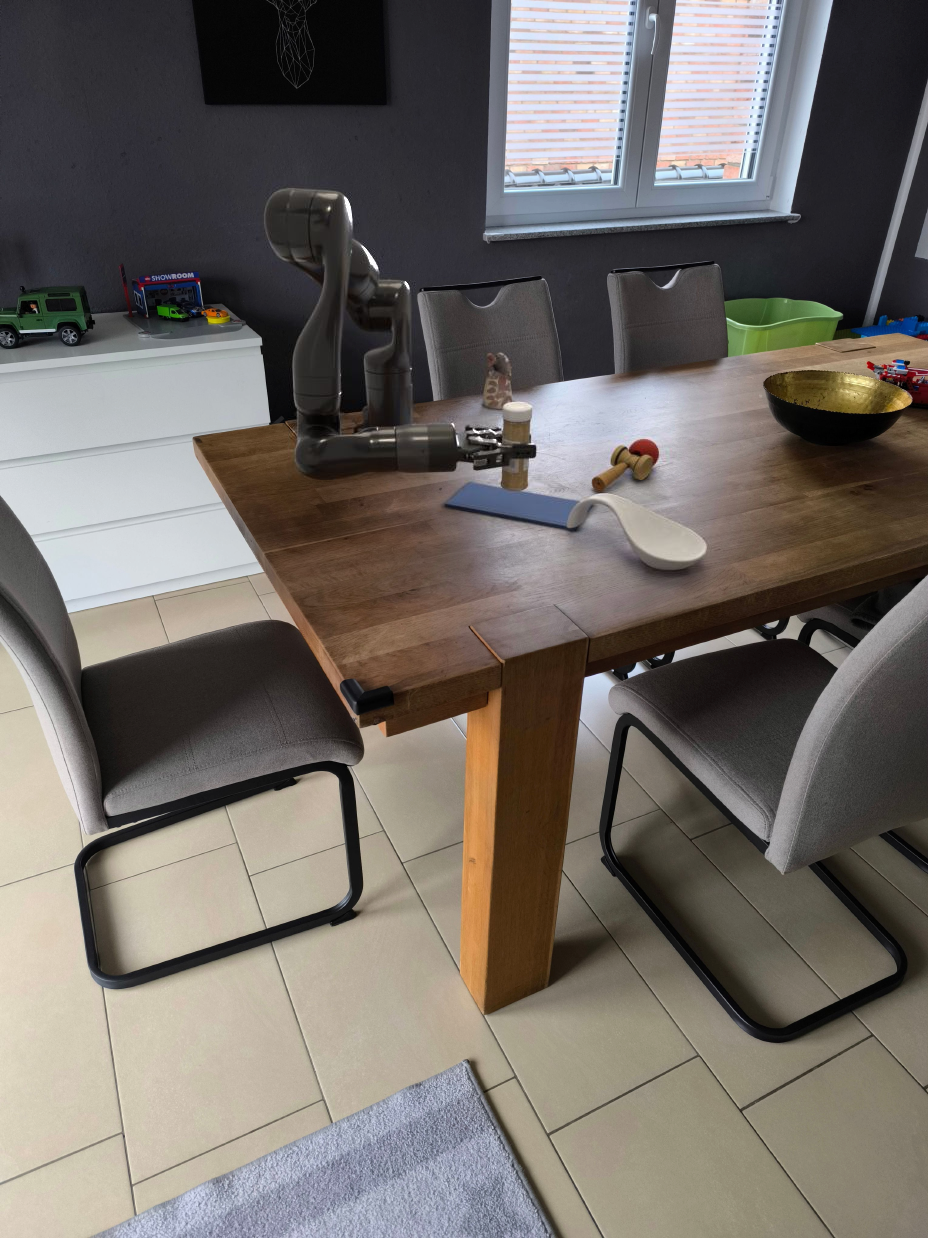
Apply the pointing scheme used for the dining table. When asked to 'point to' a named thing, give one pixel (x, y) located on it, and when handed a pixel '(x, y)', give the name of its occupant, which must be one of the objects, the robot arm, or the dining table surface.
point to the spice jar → (516, 433)
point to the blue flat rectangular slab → (514, 505)
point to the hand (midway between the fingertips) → (532, 444)
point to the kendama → (629, 463)
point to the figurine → (498, 382)
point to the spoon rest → (647, 533)
